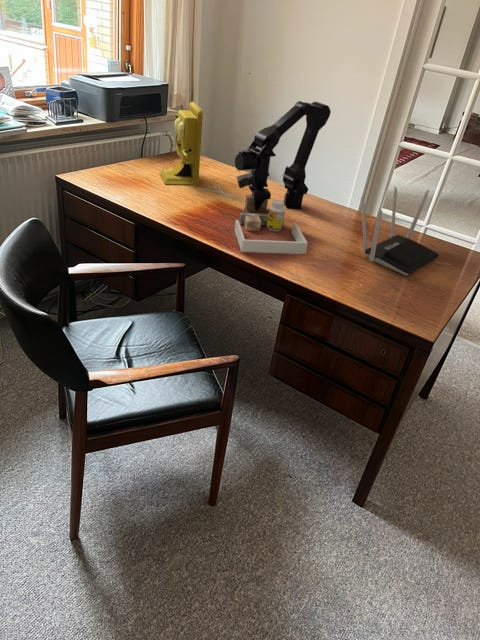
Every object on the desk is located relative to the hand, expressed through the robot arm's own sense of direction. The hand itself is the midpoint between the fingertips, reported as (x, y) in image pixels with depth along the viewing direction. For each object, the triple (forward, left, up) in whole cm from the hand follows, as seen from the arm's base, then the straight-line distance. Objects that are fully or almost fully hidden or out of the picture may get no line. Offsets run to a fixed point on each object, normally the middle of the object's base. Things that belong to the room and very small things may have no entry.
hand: (255, 208), depth 185 cm
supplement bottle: (-4, +17, -1) cm, 17 cm away
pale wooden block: (+4, +16, -1) cm, 17 cm away
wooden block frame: (0, +6, -1) cm, 6 cm away
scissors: (+11, -18, -2) cm, 21 cm away
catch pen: (0, +27, -1) cm, 27 cm away
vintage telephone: (+29, -34, -1) cm, 44 cm away
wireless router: (-43, +35, -1) cm, 55 cm away
